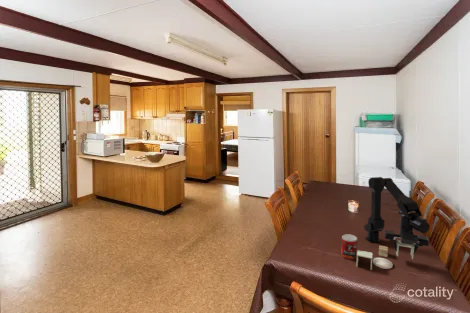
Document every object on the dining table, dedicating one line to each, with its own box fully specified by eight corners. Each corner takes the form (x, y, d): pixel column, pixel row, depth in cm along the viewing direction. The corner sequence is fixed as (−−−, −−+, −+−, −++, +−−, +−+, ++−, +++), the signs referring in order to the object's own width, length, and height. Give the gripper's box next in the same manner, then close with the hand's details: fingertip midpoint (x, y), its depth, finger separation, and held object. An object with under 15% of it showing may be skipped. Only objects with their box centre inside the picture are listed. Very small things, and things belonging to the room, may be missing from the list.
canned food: (341, 258, 143) (342, 239, 142) (341, 251, 151) (341, 233, 149) (356, 261, 140) (357, 241, 139) (356, 253, 148) (356, 235, 146)
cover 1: (356, 261, 140) (357, 249, 139) (371, 264, 137) (372, 252, 136) (356, 266, 135) (356, 254, 134) (371, 270, 132) (372, 258, 131)
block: (378, 252, 149) (379, 245, 148) (387, 253, 147) (387, 247, 146) (378, 255, 145) (379, 248, 145) (387, 257, 143) (387, 250, 143)
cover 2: (396, 251, 142) (397, 239, 141) (411, 254, 139) (412, 242, 137) (396, 256, 137) (397, 244, 136) (413, 259, 134) (414, 247, 133)
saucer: (368, 260, 141) (369, 258, 140) (383, 258, 142) (383, 256, 142) (381, 270, 132) (381, 268, 132) (396, 267, 134) (397, 265, 133)
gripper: (386, 227, 132) (384, 256, 135) (432, 234, 124) (429, 265, 126) (385, 219, 142) (383, 246, 145) (428, 225, 133) (425, 254, 136)
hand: (404, 253), depth 138 cm, fingers closed on cover 2, 7 cm apart
